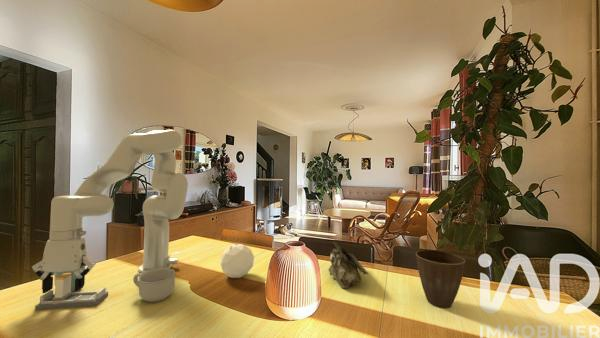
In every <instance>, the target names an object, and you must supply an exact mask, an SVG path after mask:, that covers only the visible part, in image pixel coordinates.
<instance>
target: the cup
mask: <svg viewBox="0 0 600 338" xmlns="http://www.w3.org/2000/svg"><path fill="white" fill-rule="evenodd" d="M83 268H84V269H86V266H84V267H83ZM64 273H72V275H71V292H76V291H75V279H76V278H77V276H76V275H75V273H74V272H54V276H53V283H55V281H56V280H55V278H56V277H58V276H60V275H62V274H64Z"/></svg>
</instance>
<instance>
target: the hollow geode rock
mask: <svg viewBox="0 0 600 338" xmlns="http://www.w3.org/2000/svg"><path fill="white" fill-rule="evenodd" d="M332 243H333V245H334V246H335V248H332V251H331V252H330V256H329V258H330V263H331V265H330V266H329V268H328V272H329V276H332V277H333V278H334V279H335V281H336V283H338V285H339V287H340V288H342V289H349V288H350V287H351V286H354V287H355V286H357V283H359V282H361V279H362V278H361V275H360V273H362V274H364V275H369V272H368V271H367V270H366V268H365V267H364V266H363V265H362V264H361V263H360V262H359V260H358V259H357V257H356V256H355V255H354V254H353V253H350V252H349V251H347V250H346V249H345V248H344V247H343V245H342V244H340V243H339V242H337V241H336V240H335V241H333V242H332Z"/></svg>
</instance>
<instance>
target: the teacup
mask: <svg viewBox="0 0 600 338" xmlns="http://www.w3.org/2000/svg"><path fill="white" fill-rule="evenodd" d="M175 280H176V270H174V269H173V268H159V269H154V270H150V271H147V272H145V273H141V272H137V273H136V274H135V275H133V279H132V281H133V284H134V286H136V287H137V288H138V295H139V297H140V298H141V300H143V301H145V302H147V303H157V302H162V301H164V300H166V299H167V298H168V297H169V296H170V295H171V294H172V293H173V291H174V289H175V283H176V281H175Z"/></svg>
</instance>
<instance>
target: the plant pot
mask: <svg viewBox="0 0 600 338" xmlns="http://www.w3.org/2000/svg"><path fill="white" fill-rule="evenodd" d="M415 257H416V264H417V269H418V275H419V279H420V283H421V286H422V287H421V288H422V290H423V294H424V295H425V298H426V300H427V302H428V303H429V304H430V305H432V306H434V307H435V308H436V307H437V308H440V309H449V308H451V307H452V306H453V305H454V304H453V303H454V302H455V300H456V298H457V294H458V292H459V290H460V288H461V287H460V286H461V283H462V280H463V275H464V270H465V264H466V259H464V258H463V257H461V256H459V255H457V254H454V253H451V252H447V251H442V250H436V249H432V250H431V249H423V250H417V251H416V252H415Z"/></svg>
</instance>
